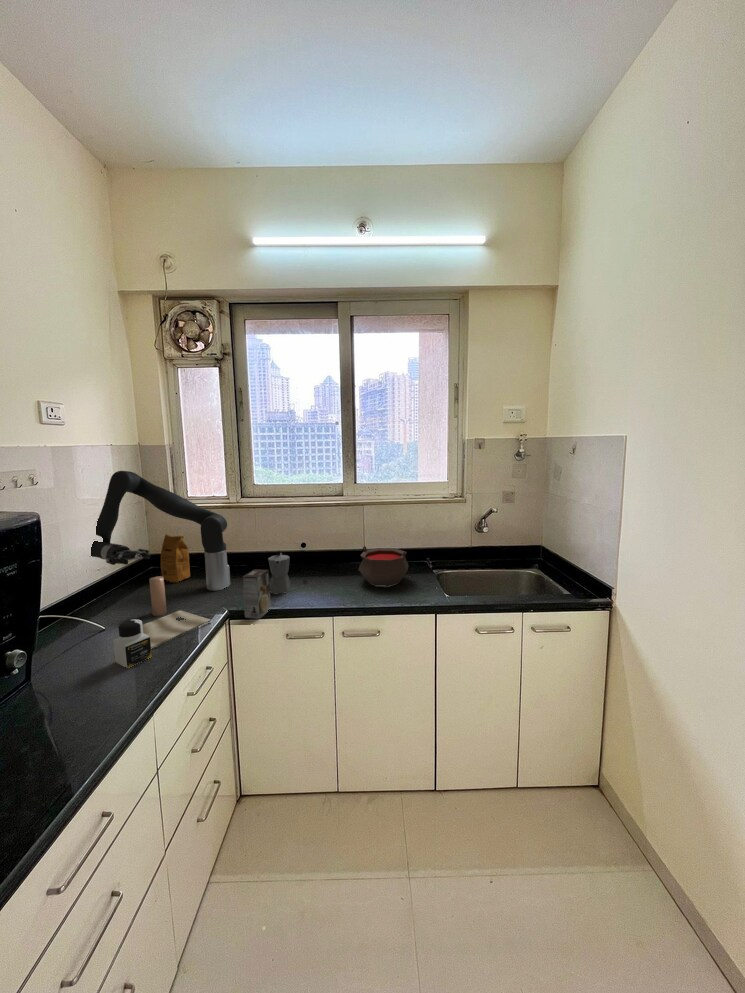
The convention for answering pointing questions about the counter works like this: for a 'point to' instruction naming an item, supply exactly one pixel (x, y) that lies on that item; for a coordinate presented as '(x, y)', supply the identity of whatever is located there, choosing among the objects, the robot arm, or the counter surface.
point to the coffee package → (174, 559)
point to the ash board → (171, 626)
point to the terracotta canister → (158, 596)
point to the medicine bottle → (131, 644)
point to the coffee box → (256, 593)
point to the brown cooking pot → (383, 565)
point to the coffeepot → (279, 573)
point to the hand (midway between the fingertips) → (138, 559)
